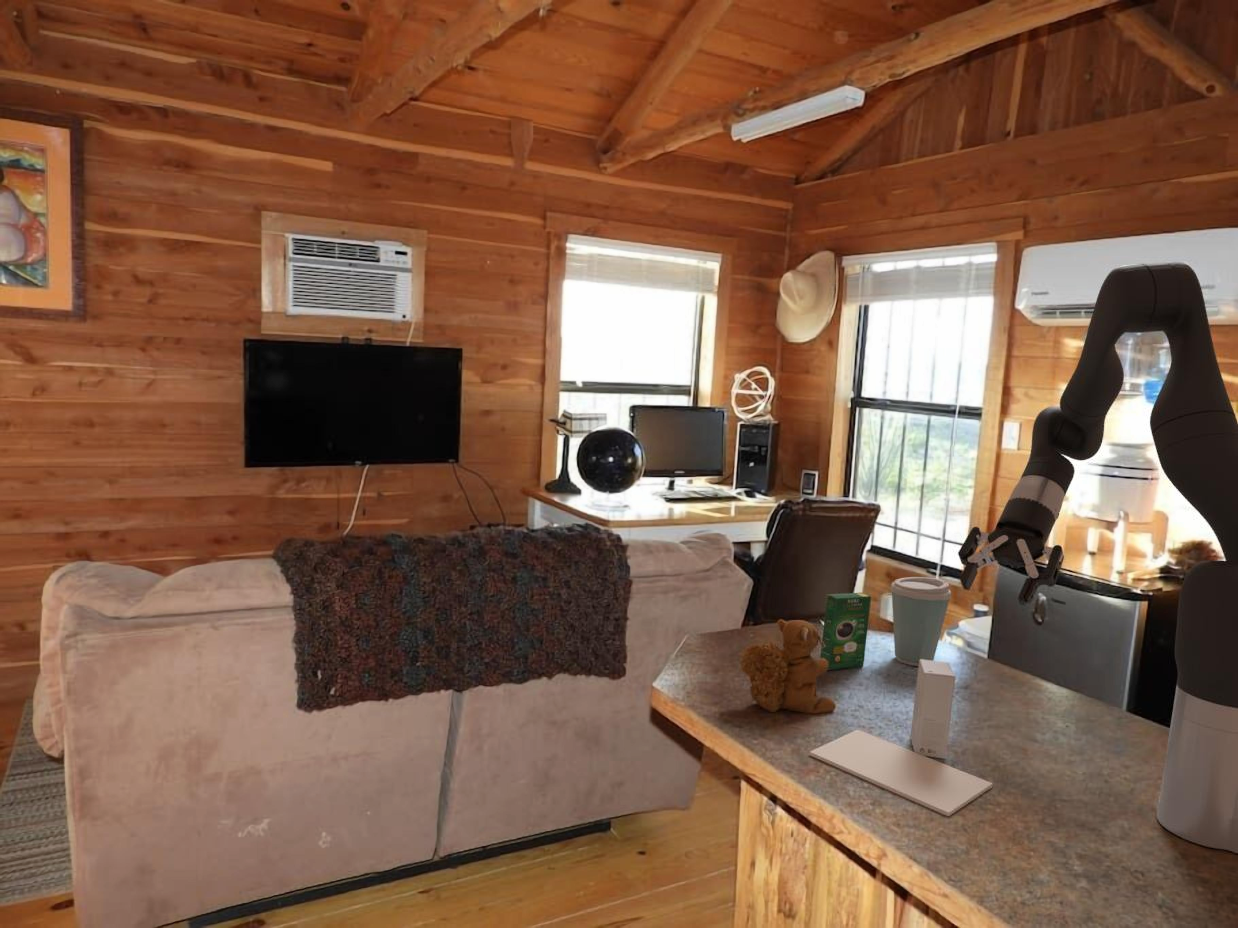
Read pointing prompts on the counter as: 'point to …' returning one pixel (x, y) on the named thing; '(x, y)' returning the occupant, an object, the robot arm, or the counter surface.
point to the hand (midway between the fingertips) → (992, 594)
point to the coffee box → (845, 630)
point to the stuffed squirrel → (787, 671)
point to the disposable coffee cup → (918, 617)
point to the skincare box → (932, 708)
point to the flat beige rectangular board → (902, 771)
